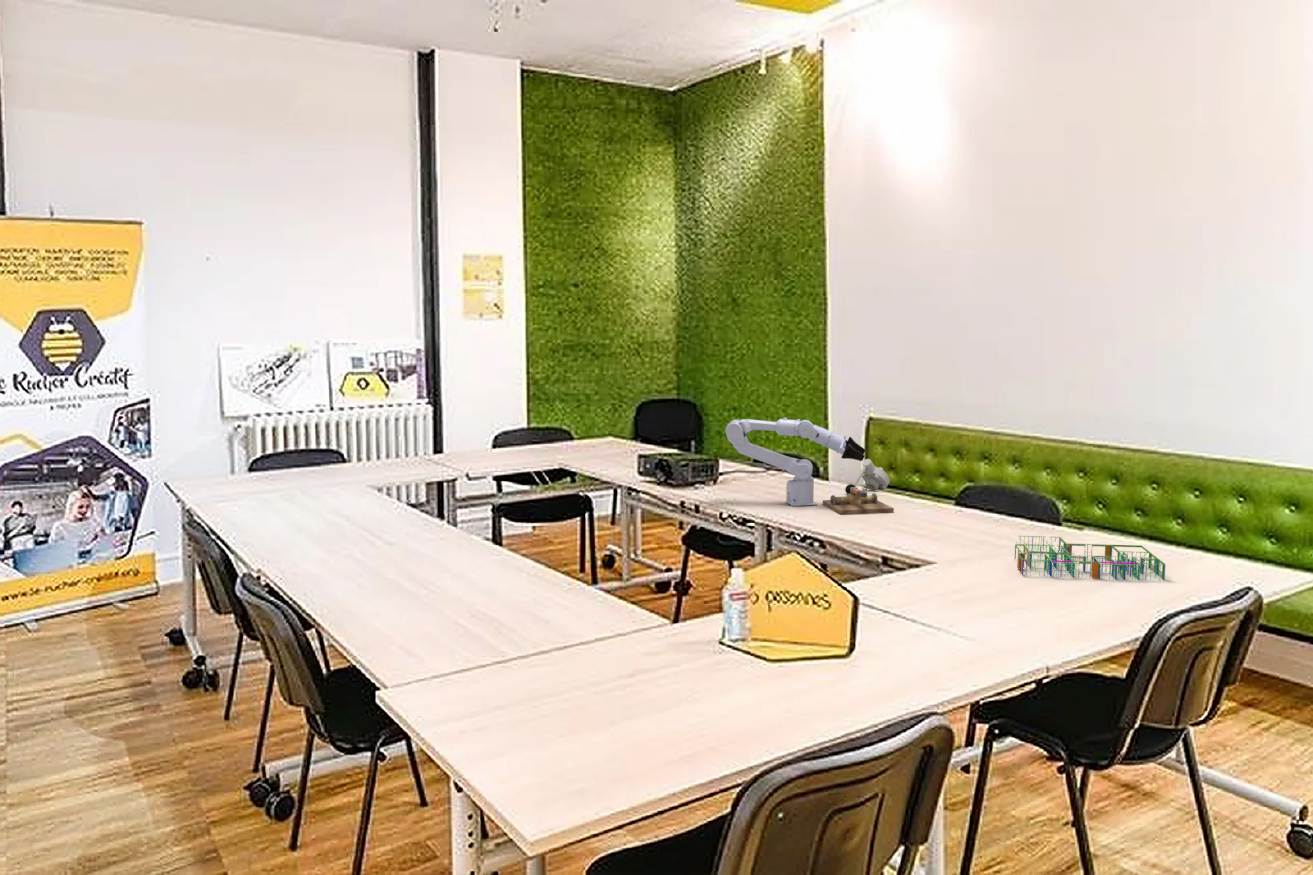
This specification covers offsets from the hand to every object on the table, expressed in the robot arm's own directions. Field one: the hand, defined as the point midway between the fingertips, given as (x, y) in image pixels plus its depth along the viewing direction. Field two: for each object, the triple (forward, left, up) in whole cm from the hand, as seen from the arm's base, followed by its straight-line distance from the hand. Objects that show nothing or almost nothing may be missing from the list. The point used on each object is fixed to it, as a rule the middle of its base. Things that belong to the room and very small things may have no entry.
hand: (864, 455), depth 361 cm
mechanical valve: (+11, +25, -18) cm, 33 cm away
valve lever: (-5, -8, -12) cm, 16 cm away
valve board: (-4, -5, -18) cm, 19 cm away
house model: (+27, -92, -19) cm, 98 cm away
